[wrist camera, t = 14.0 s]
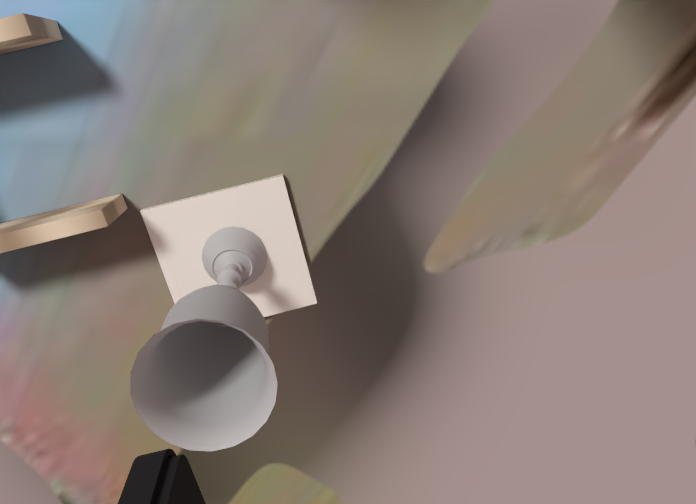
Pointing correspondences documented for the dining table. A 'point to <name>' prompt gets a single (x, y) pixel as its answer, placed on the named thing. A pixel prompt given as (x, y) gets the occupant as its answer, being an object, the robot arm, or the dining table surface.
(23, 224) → the cubby
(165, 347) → the chalice
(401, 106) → the dining table surface
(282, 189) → the mat
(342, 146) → the dining table surface
